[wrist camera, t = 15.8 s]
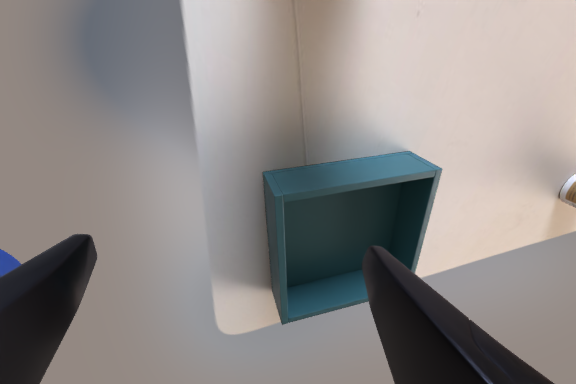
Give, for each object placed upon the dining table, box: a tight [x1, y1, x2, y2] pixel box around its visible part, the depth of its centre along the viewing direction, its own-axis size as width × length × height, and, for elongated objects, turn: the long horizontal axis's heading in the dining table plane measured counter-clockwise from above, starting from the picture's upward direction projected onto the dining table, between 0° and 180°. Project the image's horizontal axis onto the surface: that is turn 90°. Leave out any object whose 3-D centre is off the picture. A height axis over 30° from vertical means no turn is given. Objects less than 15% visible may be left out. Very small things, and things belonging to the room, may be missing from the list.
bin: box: [263, 151, 442, 324], centre depth 25 cm, size 13×13×4 cm
